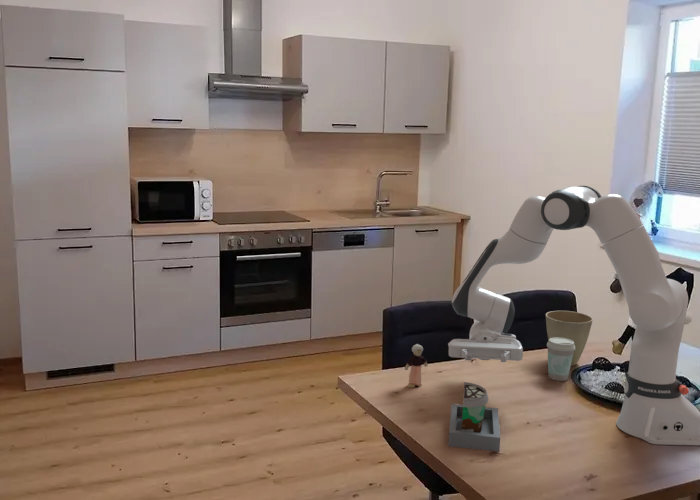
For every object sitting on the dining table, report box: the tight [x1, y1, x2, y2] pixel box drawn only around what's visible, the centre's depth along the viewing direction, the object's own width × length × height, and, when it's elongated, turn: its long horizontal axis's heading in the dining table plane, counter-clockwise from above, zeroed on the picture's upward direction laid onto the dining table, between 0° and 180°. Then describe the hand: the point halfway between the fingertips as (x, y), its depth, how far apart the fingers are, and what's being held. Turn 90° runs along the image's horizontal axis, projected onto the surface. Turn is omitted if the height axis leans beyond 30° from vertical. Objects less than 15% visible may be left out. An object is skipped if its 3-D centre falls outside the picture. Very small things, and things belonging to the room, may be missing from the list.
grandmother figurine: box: [404, 343, 428, 388], centre depth 202 cm, size 8×4×13 cm, turn 129°
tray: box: [448, 403, 501, 452], centre depth 171 cm, size 12×18×4 cm, turn 170°
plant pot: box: [545, 310, 594, 367], centre depth 227 cm, size 15×15×16 cm
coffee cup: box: [546, 337, 575, 382], centre depth 212 cm, size 8×8×12 cm
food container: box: [461, 381, 489, 433], centre depth 171 cm, size 12×6×10 cm, turn 170°
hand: (485, 358), depth 183 cm, fingers open, 8 cm apart
